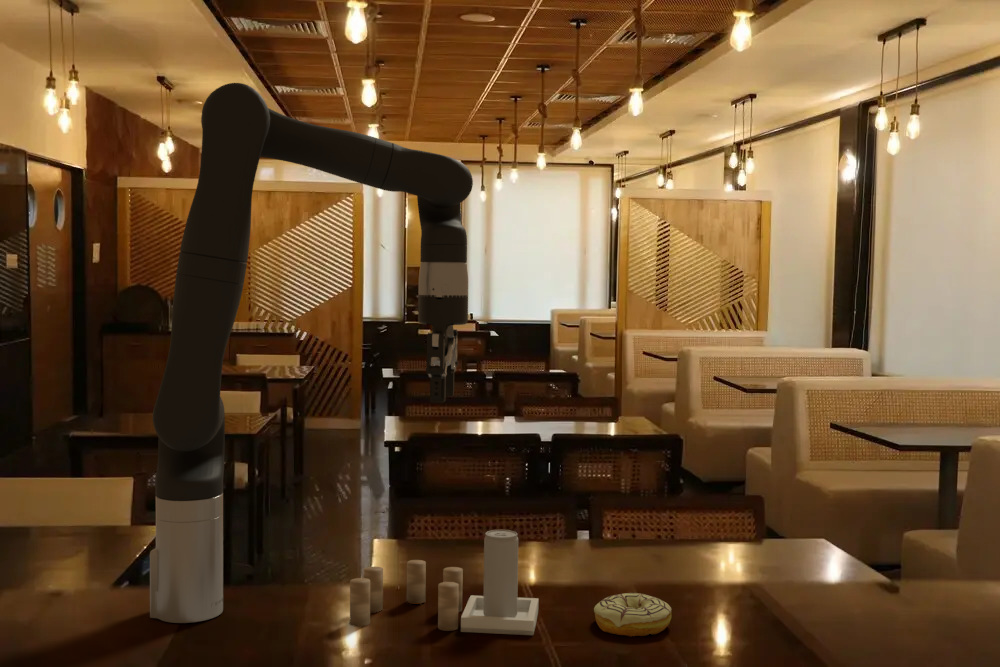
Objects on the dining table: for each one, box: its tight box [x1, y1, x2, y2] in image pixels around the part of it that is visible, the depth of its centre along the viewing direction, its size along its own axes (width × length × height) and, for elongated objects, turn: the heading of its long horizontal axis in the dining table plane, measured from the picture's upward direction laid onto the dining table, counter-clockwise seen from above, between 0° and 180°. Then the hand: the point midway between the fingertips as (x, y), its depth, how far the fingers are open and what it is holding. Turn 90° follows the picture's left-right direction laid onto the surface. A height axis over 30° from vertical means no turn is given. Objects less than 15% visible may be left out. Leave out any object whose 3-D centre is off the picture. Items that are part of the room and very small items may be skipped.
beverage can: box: [483, 529, 519, 618], centre depth 144 cm, size 5×5×12 cm
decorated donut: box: [593, 592, 672, 638], centre depth 143 cm, size 10×11×4 cm
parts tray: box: [460, 594, 540, 636], centre depth 144 cm, size 10×10×2 cm
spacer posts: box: [349, 559, 464, 632], centre depth 147 cm, size 15×13×6 cm
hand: (442, 399), depth 154 cm, fingers open, 8 cm apart
